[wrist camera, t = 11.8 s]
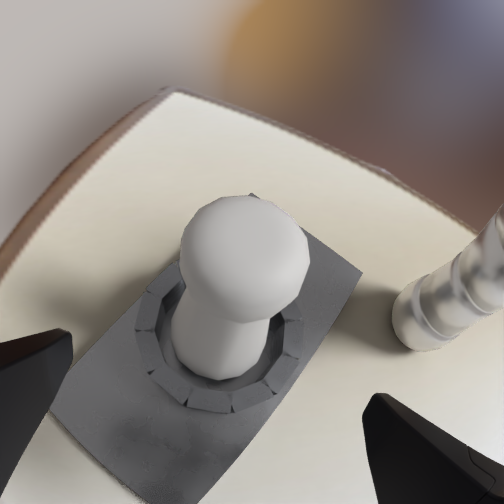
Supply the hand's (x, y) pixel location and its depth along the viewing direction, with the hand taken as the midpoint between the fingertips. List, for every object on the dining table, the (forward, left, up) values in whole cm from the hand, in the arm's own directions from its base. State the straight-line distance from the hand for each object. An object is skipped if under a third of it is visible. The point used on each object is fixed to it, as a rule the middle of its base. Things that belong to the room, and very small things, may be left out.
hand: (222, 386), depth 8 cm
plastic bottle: (+16, -11, -14) cm, 24 cm away
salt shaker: (+4, +2, -12) cm, 13 cm away
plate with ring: (+4, +2, -14) cm, 14 cm away
